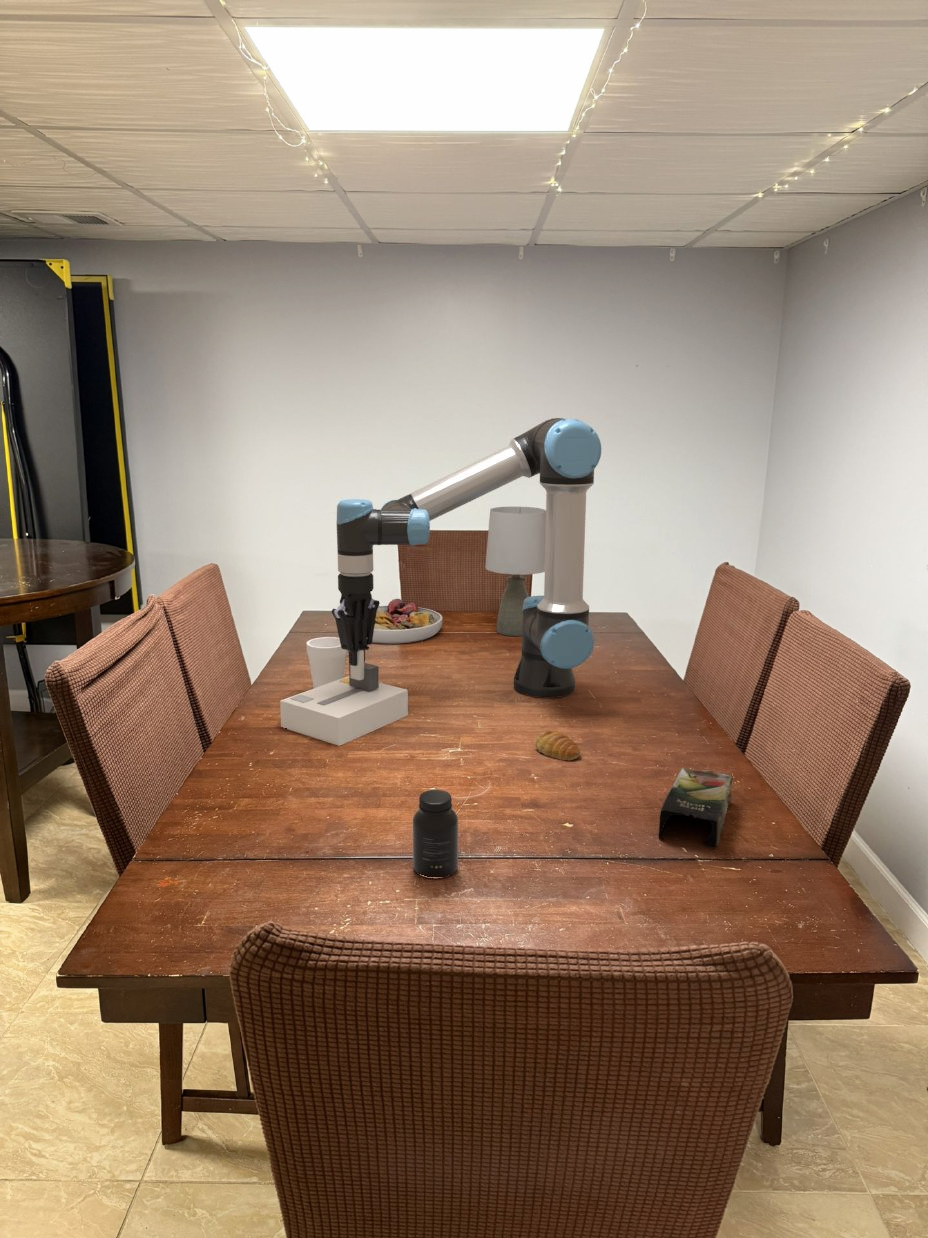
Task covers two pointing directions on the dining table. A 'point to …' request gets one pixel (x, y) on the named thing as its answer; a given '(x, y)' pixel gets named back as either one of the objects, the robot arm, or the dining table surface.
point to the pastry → (557, 746)
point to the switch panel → (343, 710)
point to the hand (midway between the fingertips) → (357, 678)
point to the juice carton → (699, 800)
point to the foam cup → (326, 660)
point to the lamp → (515, 558)
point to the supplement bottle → (435, 835)
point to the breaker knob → (366, 678)
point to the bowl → (404, 623)
